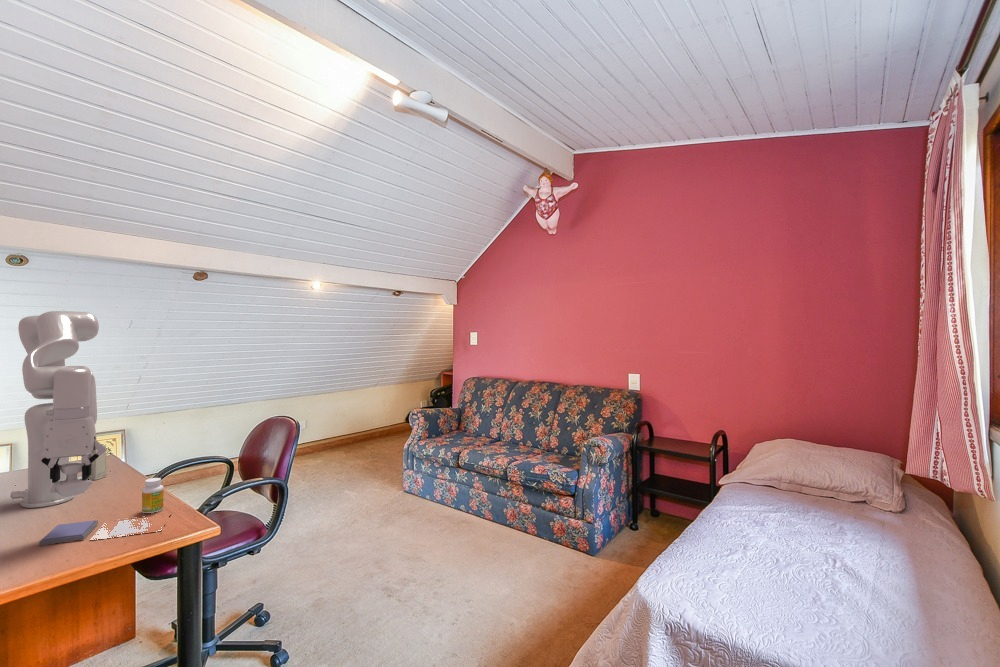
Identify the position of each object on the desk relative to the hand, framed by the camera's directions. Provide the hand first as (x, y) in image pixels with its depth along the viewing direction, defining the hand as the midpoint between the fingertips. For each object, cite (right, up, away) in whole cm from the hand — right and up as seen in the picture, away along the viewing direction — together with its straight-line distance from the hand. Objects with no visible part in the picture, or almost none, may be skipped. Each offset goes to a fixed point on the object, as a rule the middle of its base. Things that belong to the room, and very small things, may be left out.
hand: (71, 479), depth 130 cm
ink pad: (0, -15, 0) cm, 15 cm away
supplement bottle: (+9, -15, +18) cm, 25 cm away
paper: (+12, -15, +6) cm, 21 cm away
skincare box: (-35, -14, +48) cm, 61 cm away
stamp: (0, -4, 0) cm, 4 cm away
